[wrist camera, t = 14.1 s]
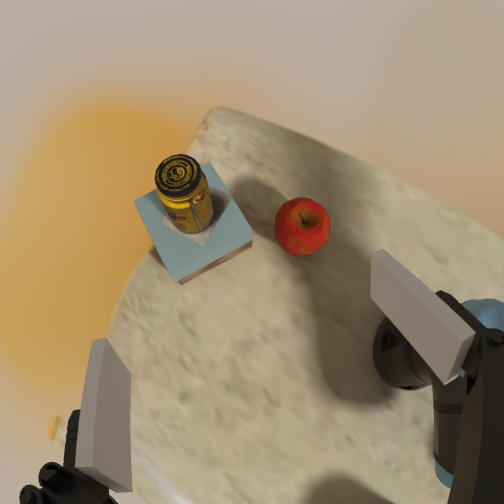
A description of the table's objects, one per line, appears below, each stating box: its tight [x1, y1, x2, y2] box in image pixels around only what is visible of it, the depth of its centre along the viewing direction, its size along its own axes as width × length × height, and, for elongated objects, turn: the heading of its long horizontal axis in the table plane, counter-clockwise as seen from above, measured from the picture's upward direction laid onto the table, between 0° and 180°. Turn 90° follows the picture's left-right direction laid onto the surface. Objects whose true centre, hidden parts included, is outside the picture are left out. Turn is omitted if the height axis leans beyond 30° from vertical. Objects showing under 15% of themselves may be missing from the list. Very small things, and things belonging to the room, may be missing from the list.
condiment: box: [155, 154, 233, 246], centre depth 38 cm, size 7×8×12 cm
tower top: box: [134, 162, 253, 282], centre depth 46 cm, size 13×13×4 cm
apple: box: [274, 197, 330, 256], centre depth 47 cm, size 9×8×11 cm
